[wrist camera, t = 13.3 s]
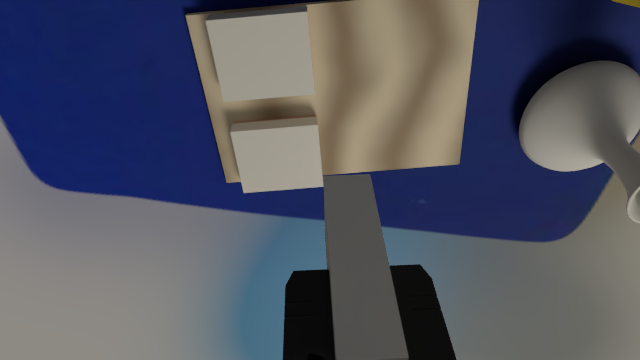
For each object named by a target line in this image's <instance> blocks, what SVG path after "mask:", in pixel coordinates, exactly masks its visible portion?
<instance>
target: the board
mask: <svg viewBox="0 0 640 360" xmlns="http://www.w3.org/2000/svg"><path fill="white" fill-rule="evenodd" d="M478 2H479V0H332V1H321V2H310V3H299V4H288V5H277V6H265V7H254V8H243V9H232V10H221V11H210V12H199V13H187V14H186V19H187V24H188V28H189V32H190V36H191V40H192V44H193V48H194V52H195V56H196V60H197V64H198V68H199V72H200V76H201V80H202V84H203V88H204V93H205V97H206V101H207V105H208V109H209V113H210V117H211V121H212V125H213V129H214V133H215V137H216V141H217V145H218V149H219V153H220V157H221V162H222V166H223V170H224V174H225V178H226V182H227V183H231V182H241V178H240V174H239V169H238V165H237V160H236V156H235V151H234V147H233V143H232V138H231V134H230V131H231V127H232V124H233V123H234V122H245V121H257V120H269V119H281V118H293V117H305V116H316V117H317V118H318V129H319V140H320V151H321V161H322V172H323V175H331V174H343V173H355V172H368V171H380V170H393V169H405V168H418V167H430V166H443V165H455V164H459V161H460V153H461V145H462V136H463V128H464V119H465V111H466V103H467V94H468V86H469V78H470V69H471V61H472V53H473V44H474V36H475V27H476V19H477V11H478ZM302 6H307V9H308V20H309V31H310V42H311V53H312V64H313V74H314V85H315V94H313V95H301V96H289V97H277V98H266V99H254V100H242V101H230V102H223V97H222V93H221V88H220V84H219V79H218V75H217V70H216V66H215V61H214V57H213V53H212V48H211V44H210V39H209V35H208V30H207V26H206V19H207V17H208V16H209V15H212V14H223V13H235V12H246V11H257V10H268V9H279V8H290V7H302Z"/></svg>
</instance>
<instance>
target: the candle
mask: <svg viewBox="0 0 640 360" xmlns="http://www.w3.org/2000/svg"><path fill="white" fill-rule="evenodd" d="M611 1H614V2H618V3H622V4H626V5H631V6H635V7H639V8H640V0H611Z"/></svg>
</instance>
